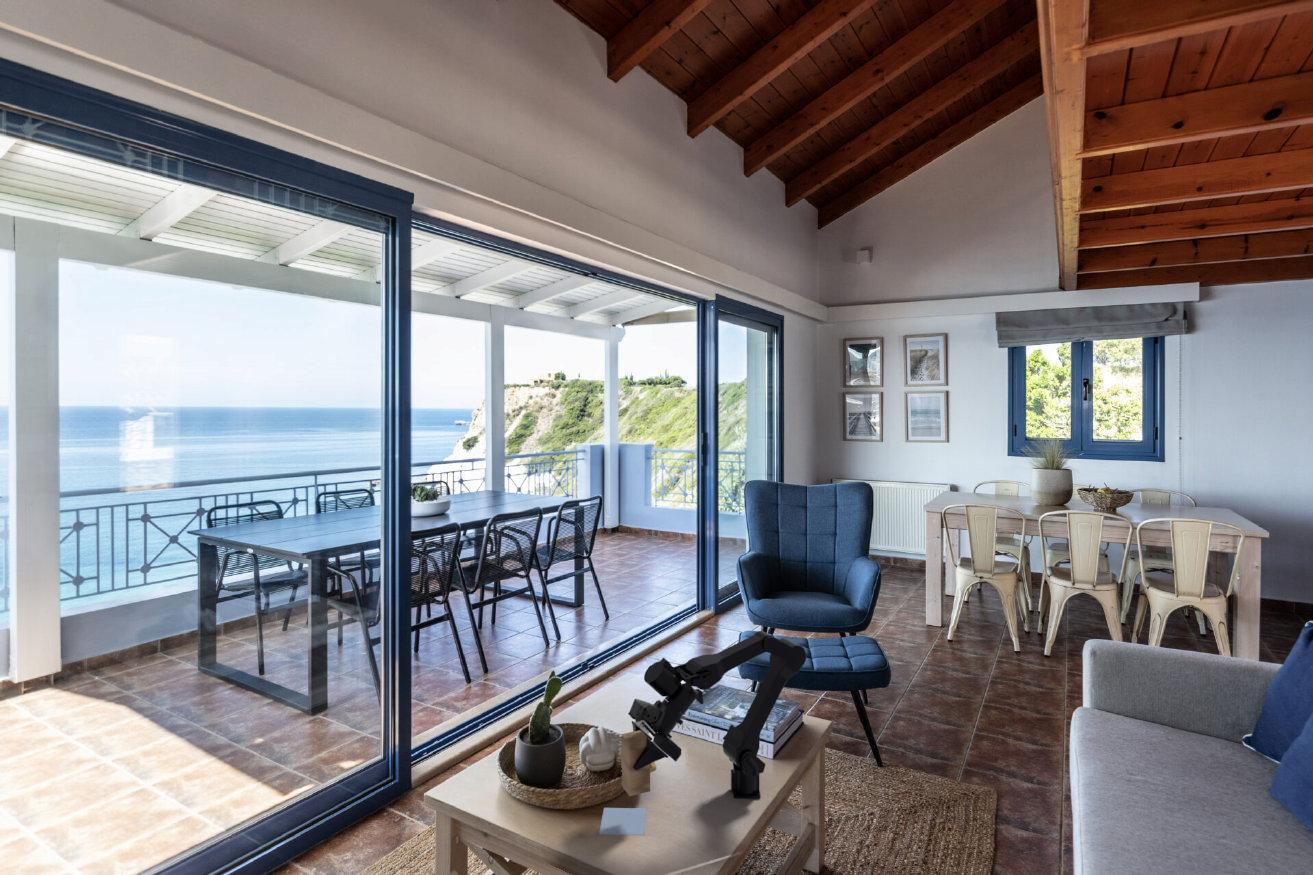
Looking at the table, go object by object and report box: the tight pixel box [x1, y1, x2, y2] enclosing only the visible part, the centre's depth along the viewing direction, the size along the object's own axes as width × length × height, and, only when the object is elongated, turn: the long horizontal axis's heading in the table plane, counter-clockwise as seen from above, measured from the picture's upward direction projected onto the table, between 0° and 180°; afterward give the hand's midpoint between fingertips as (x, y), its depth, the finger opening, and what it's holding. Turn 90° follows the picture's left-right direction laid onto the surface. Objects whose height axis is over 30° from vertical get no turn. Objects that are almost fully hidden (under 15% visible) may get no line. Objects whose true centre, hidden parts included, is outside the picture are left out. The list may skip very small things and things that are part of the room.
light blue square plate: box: [598, 807, 648, 836], centre depth 158 cm, size 10×10×1 cm
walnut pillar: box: [620, 730, 651, 797], centre depth 158 cm, size 5×5×12 cm
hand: (630, 763), depth 158 cm, fingers closed on walnut pillar, 5 cm apart
